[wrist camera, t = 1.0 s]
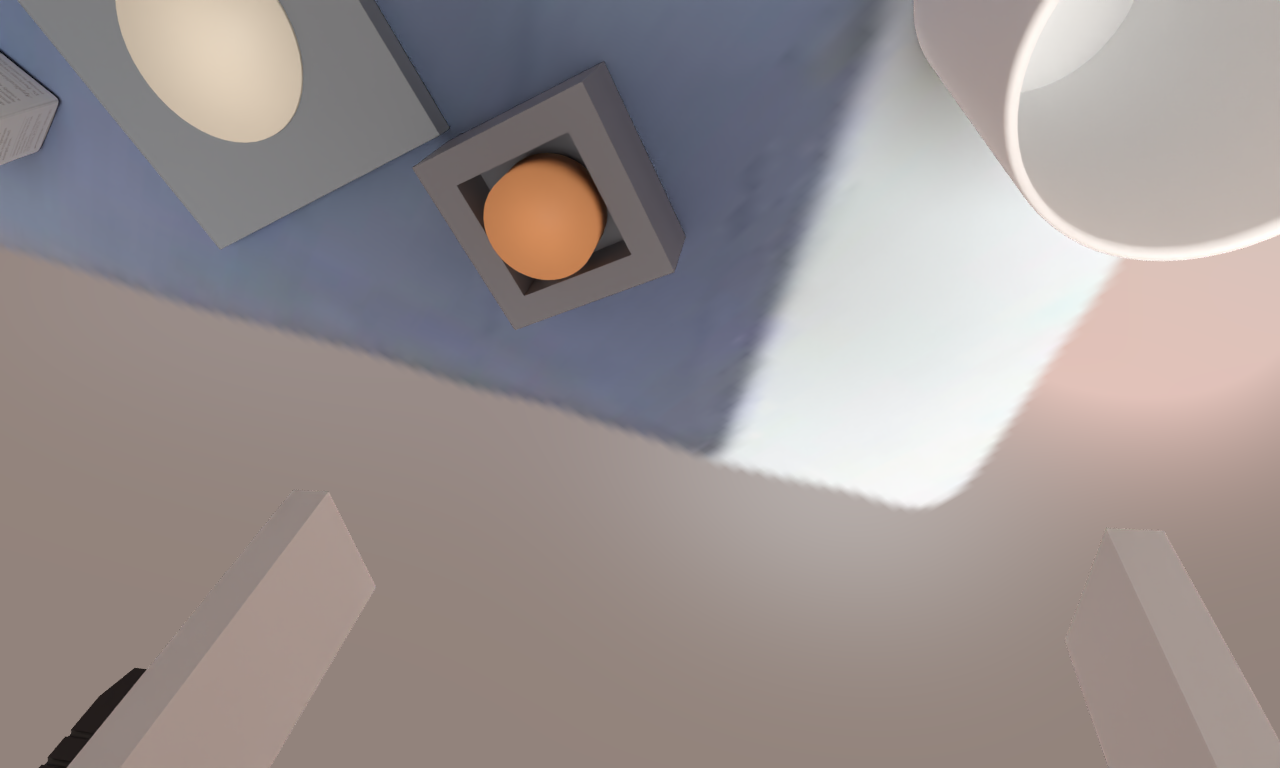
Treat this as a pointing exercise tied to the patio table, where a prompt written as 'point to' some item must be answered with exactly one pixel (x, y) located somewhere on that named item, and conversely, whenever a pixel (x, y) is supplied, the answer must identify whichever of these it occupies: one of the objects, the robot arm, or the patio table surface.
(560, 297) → the button box
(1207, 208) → the cup
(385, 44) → the slate board
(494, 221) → the button
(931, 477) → the patio table surface
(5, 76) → the skincare box
